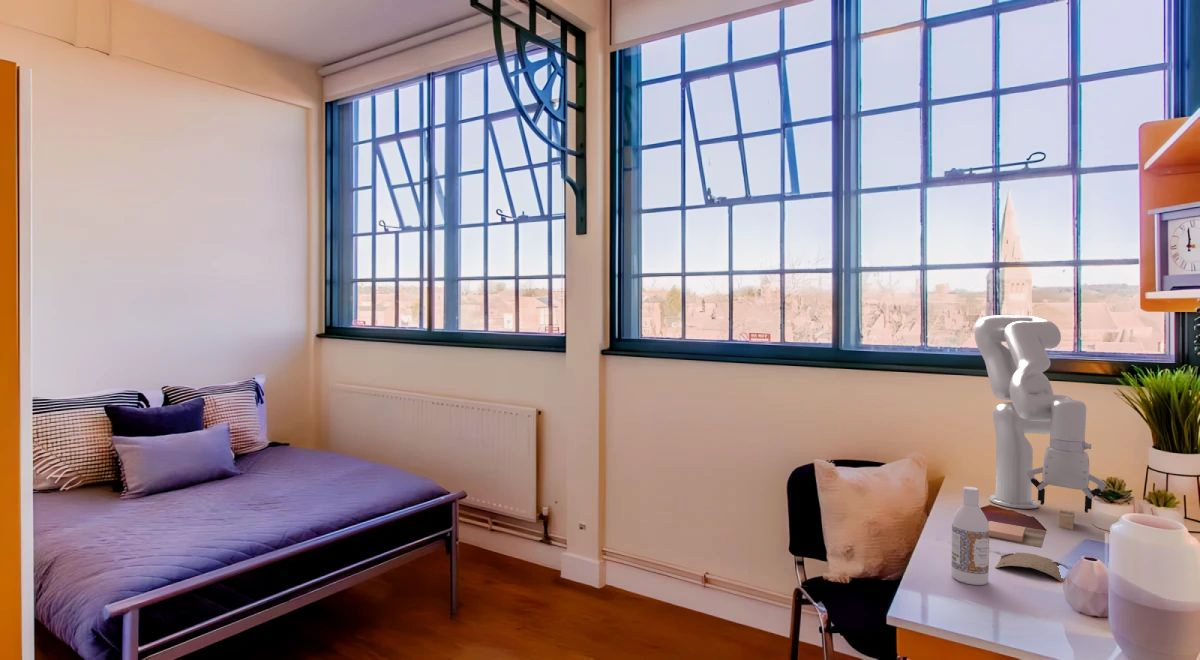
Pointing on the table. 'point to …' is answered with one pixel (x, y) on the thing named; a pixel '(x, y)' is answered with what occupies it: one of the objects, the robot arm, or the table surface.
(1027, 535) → the walnut board
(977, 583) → the bath foam
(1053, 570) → the clay tablet
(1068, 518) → the tan block
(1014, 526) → the peach flat slab
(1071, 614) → the table surface
